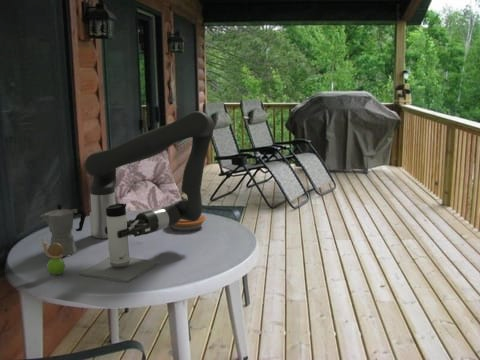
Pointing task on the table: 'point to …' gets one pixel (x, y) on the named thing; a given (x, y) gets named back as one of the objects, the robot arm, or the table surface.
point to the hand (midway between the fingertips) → (111, 232)
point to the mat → (119, 269)
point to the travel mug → (117, 245)
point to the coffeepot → (64, 227)
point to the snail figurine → (54, 258)
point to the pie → (189, 224)
